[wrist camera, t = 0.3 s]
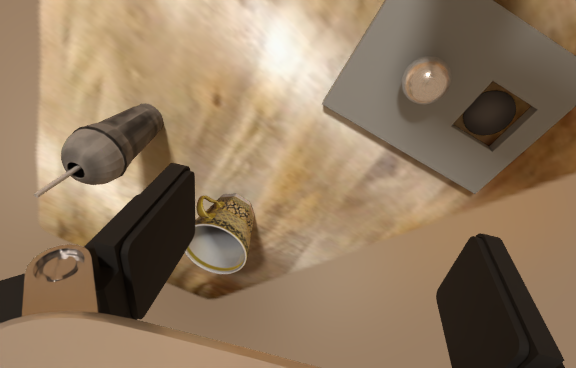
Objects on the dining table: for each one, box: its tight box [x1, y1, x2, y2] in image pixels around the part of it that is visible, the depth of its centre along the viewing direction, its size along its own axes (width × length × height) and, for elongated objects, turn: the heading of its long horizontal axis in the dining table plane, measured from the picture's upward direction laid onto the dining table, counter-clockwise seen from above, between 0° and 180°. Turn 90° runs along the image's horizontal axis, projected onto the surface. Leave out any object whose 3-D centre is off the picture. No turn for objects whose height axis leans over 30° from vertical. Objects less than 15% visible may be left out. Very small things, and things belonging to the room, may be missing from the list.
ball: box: [402, 56, 452, 105], centre depth 36 cm, size 5×5×5 cm
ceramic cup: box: [185, 194, 254, 274], centre depth 52 cm, size 13×10×10 cm
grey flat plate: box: [322, 0, 576, 194], centre depth 39 cm, size 18×24×2 cm
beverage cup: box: [34, 104, 163, 197], centre depth 42 cm, size 7×7×20 cm
